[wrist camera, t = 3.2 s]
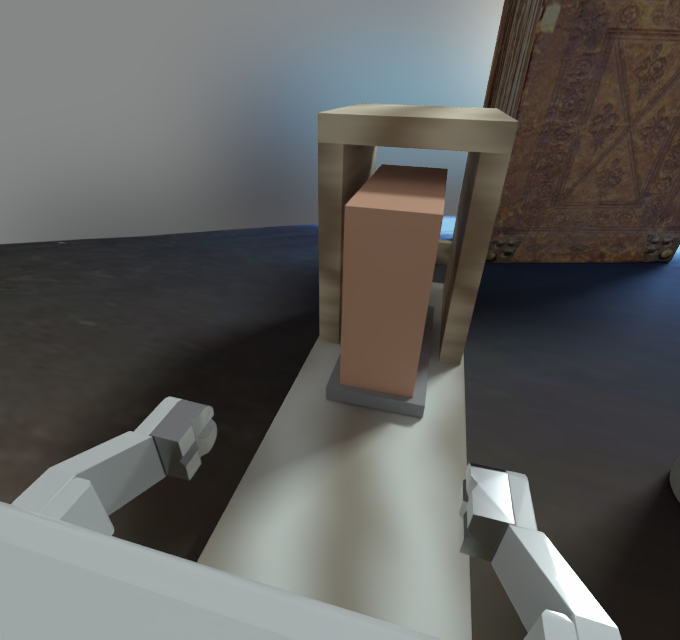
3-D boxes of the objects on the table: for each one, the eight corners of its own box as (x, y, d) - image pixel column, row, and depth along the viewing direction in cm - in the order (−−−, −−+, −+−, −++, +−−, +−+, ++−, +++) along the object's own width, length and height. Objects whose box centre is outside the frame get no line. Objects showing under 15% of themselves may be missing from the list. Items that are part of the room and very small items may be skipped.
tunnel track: (457, 265, 47) (490, 102, 38) (463, 861, 11) (1195, 504, 2) (369, 254, 49) (380, 98, 40) (135, 724, 13) (-307, 242, 4)
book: (479, 262, 48) (556, -67, 32) (456, 237, 56) (509, -39, 40) (671, 262, 49) (836, -54, 34) (623, 237, 57) (738, -29, 41)
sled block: (432, 316, 33) (458, 168, 26) (422, 418, 23) (460, 219, 16) (363, 306, 34) (372, 162, 27) (325, 399, 24) (326, 207, 18)
